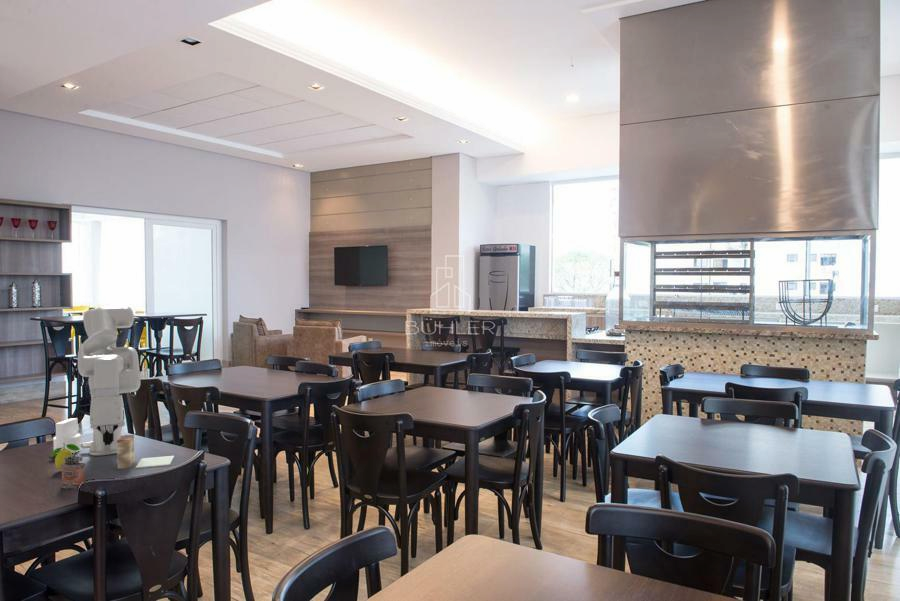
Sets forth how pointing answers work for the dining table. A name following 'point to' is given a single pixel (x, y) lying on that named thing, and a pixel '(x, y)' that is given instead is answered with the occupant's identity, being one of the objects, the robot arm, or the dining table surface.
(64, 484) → the small potted plant
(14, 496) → the dining table surface
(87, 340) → the robot arm
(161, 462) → the pale green square plate
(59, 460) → the lemon
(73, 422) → the cylinder with rectangular tab
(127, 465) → the maple block
